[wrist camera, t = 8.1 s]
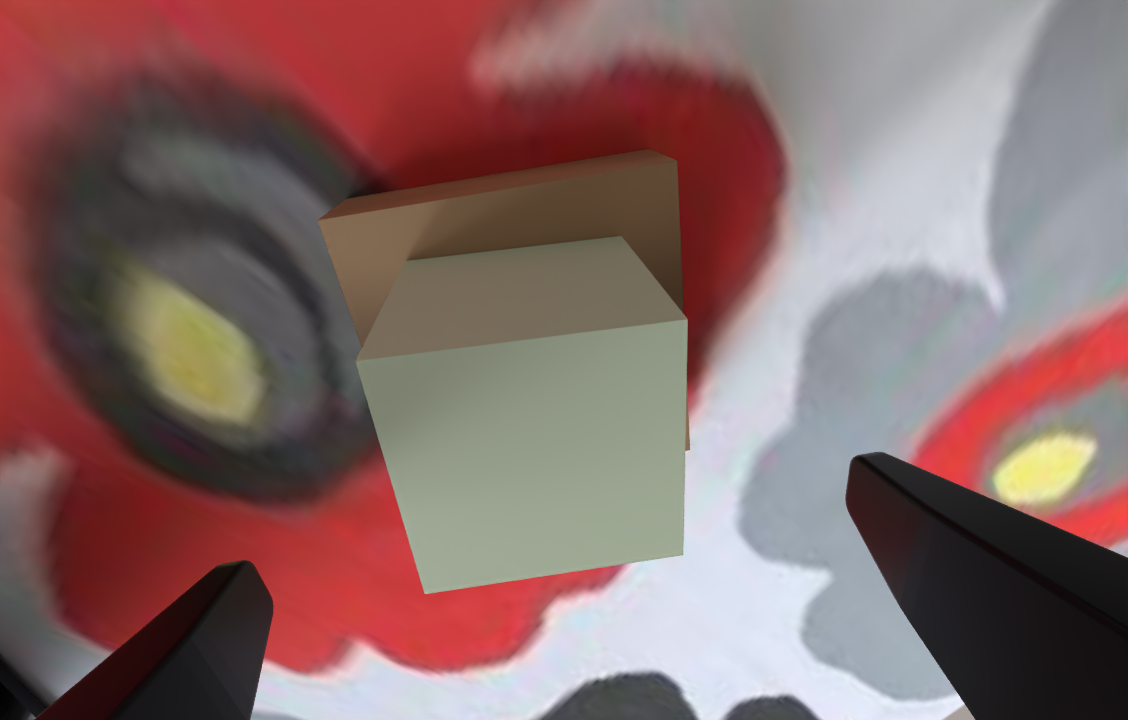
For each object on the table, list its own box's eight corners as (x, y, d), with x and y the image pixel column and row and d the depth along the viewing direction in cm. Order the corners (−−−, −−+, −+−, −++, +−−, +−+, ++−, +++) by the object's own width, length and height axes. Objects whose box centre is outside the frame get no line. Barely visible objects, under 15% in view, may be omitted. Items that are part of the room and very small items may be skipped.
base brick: (662, 397, 19) (690, 450, 16) (427, 438, 18) (415, 499, 16) (645, 146, 15) (677, 160, 12) (350, 195, 15) (317, 219, 12)
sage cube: (621, 235, 13) (688, 319, 8) (628, 415, 15) (683, 554, 11) (405, 261, 12) (355, 361, 8) (446, 440, 15) (424, 594, 10)
